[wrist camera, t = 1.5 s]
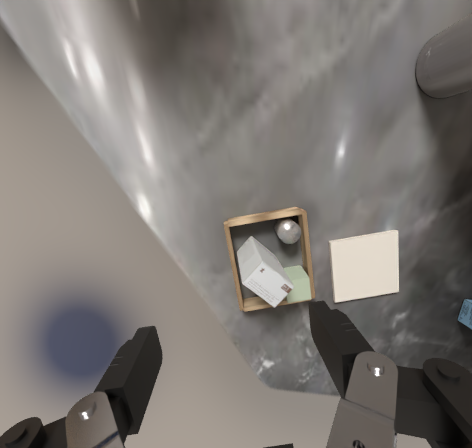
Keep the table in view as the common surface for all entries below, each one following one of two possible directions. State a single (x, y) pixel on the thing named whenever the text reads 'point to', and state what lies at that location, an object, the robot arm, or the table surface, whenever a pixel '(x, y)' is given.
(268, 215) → the oak corral
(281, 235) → the grey ball
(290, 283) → the skincare box
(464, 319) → the gum box
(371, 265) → the ceramic pad
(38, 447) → the robot arm
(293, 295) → the sage block
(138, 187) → the table surface
